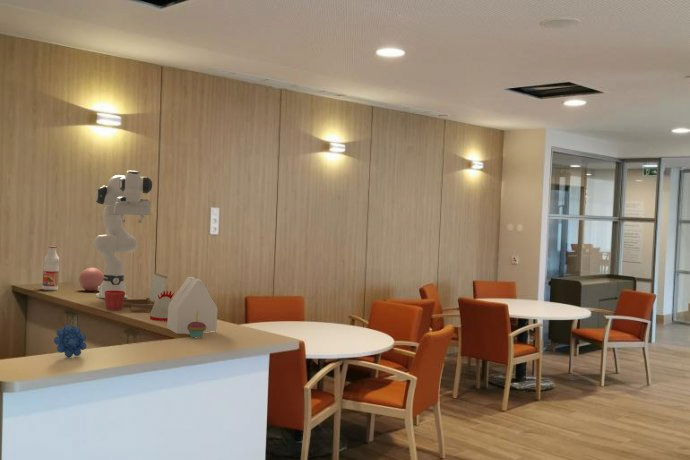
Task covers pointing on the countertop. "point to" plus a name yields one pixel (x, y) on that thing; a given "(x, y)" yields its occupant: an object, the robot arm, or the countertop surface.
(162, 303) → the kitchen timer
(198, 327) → the cupcake
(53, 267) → the fruit juice
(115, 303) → the flower pot
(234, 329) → the countertop surface
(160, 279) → the frame lid
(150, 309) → the cold frame
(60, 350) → the blue flower
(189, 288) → the white house-shaped block
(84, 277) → the pink egg shape
